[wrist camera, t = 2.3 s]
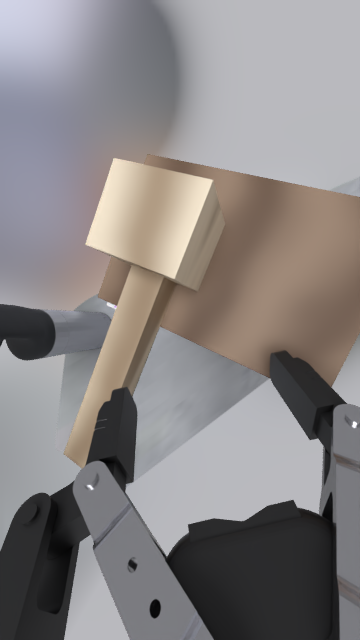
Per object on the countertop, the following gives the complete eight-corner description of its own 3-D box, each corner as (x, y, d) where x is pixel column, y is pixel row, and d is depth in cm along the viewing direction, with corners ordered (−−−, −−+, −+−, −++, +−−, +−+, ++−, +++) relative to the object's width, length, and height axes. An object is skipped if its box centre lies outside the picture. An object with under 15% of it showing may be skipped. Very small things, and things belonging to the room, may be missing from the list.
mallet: (72, 425, 19) (13, 460, 14) (152, 204, 17) (114, 158, 12) (126, 465, 17) (80, 520, 13) (225, 224, 15) (213, 179, 10)
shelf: (193, 311, 49) (97, 296, 18) (213, 261, 47) (147, 154, 17) (272, 345, 44) (323, 403, 13) (298, 289, 42) (422, 210, 12)
